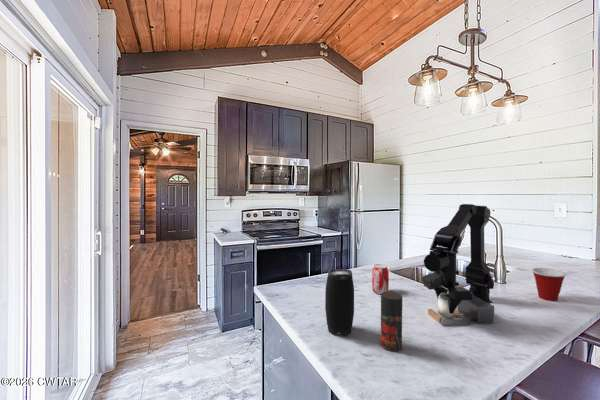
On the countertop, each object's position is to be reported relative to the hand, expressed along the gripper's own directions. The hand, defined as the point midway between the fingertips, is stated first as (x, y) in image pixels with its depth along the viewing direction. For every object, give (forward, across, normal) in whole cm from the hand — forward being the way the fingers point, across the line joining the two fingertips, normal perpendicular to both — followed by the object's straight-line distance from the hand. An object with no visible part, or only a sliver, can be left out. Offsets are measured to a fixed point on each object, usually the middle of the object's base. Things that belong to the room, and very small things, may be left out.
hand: (446, 309), depth 96 cm
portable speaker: (+3, +5, -40) cm, 41 cm away
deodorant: (+3, +15, -27) cm, 31 cm away
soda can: (+3, -26, -14) cm, 30 cm away
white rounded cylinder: (+2, 0, 0) cm, 2 cm away
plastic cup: (+3, -13, +54) cm, 56 cm away
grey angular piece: (+3, -1, +5) cm, 6 cm away
